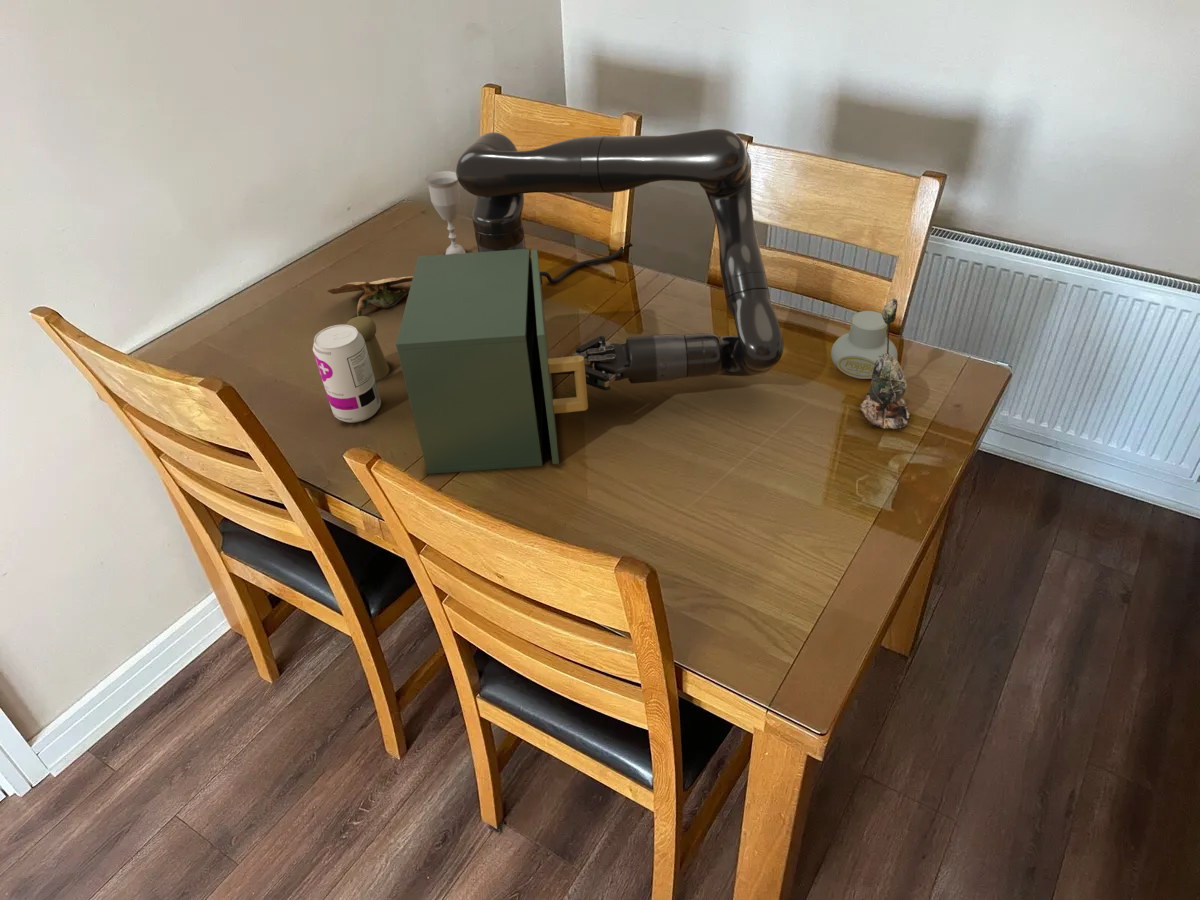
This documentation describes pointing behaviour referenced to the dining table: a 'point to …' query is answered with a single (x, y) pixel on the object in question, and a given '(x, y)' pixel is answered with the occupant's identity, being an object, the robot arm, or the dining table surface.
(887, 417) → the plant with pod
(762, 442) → the dining table surface
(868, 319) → the air freshener
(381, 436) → the dining table surface
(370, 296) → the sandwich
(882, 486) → the dining table surface
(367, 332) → the pawn
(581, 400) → the door
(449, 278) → the cupboard
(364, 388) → the supplement can
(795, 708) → the dining table surface
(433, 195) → the chalice
